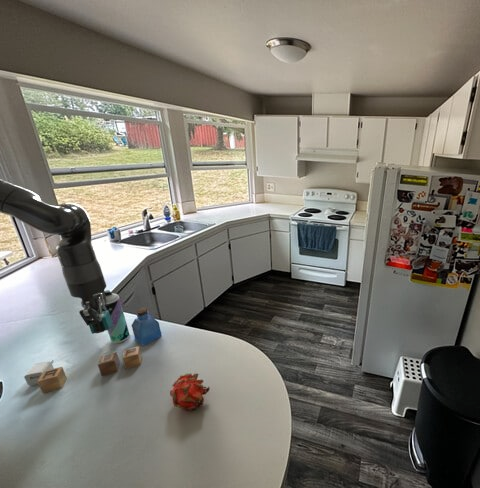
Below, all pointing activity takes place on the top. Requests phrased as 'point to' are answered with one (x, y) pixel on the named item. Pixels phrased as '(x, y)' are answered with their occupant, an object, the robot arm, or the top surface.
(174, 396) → the dragon fruit
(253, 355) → the top surface
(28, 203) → the robot arm
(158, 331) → the perfume bottle
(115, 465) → the top surface
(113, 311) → the spray can
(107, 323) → the block
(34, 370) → the usb wall charger
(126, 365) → the block
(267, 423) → the top surface
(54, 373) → the block
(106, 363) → the block
